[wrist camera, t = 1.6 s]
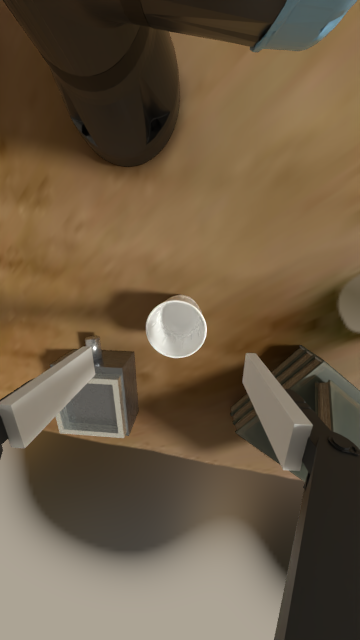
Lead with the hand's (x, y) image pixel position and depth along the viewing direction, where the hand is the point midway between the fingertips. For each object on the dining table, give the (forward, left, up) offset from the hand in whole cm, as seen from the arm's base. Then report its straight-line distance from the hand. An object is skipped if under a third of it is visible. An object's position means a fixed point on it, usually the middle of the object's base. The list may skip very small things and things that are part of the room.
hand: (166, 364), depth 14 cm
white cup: (0, 0, -18) cm, 18 cm away
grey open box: (+14, -16, -18) cm, 27 cm away
